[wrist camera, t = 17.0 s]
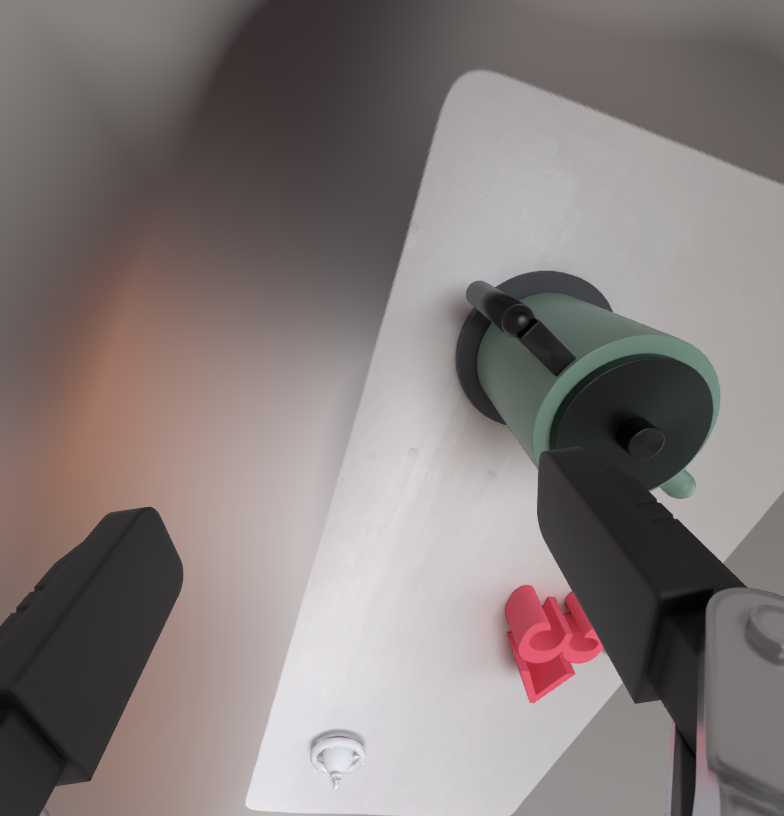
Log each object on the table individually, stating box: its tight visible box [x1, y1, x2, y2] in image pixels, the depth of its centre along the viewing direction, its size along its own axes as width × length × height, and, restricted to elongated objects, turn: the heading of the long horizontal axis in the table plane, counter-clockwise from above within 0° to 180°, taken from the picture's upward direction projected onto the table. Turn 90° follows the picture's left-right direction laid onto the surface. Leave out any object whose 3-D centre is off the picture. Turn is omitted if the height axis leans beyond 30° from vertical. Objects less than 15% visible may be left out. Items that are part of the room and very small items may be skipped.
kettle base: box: [456, 271, 613, 425], centre depth 37 cm, size 14×14×1 cm
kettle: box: [466, 281, 720, 499], centre depth 29 cm, size 19×11×15 cm, turn 48°
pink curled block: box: [505, 586, 604, 703], centre depth 51 cm, size 14×10×5 cm
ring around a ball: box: [310, 737, 366, 790], centre depth 59 cm, size 8×6×8 cm
